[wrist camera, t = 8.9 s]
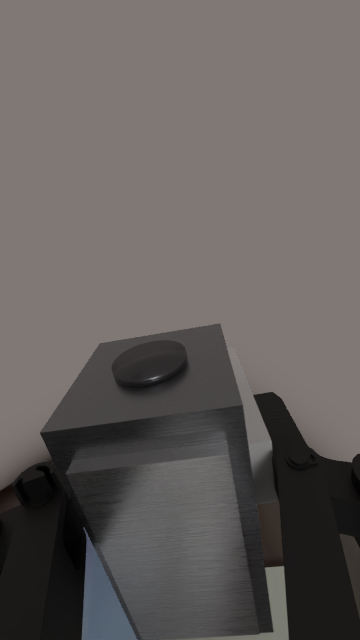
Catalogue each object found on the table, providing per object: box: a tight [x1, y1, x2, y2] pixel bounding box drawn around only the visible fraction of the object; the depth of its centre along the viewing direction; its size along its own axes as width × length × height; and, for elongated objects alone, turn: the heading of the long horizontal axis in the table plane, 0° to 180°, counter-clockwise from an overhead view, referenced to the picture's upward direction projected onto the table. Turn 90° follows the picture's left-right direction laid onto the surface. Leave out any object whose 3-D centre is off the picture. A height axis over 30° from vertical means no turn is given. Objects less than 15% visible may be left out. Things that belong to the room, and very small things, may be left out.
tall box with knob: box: [40, 324, 274, 640], centre depth 11 cm, size 5×6×10 cm
